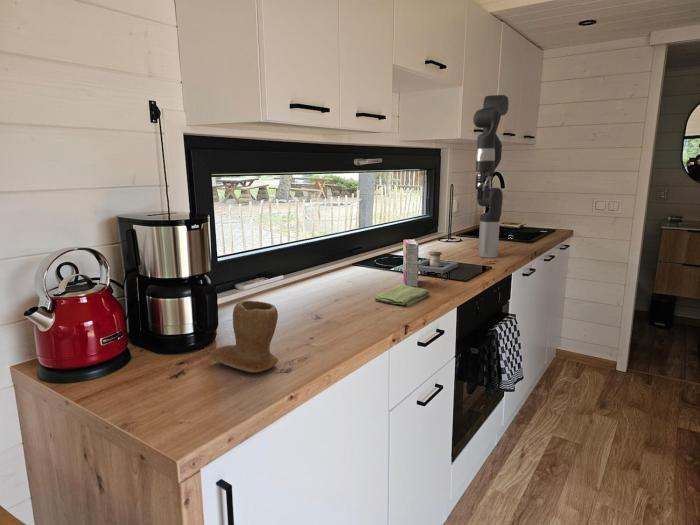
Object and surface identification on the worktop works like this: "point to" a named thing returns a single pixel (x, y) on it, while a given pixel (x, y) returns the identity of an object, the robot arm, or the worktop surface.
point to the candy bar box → (410, 262)
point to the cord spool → (435, 259)
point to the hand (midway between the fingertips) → (483, 198)
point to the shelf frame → (446, 268)
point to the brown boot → (250, 338)
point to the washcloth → (403, 295)
